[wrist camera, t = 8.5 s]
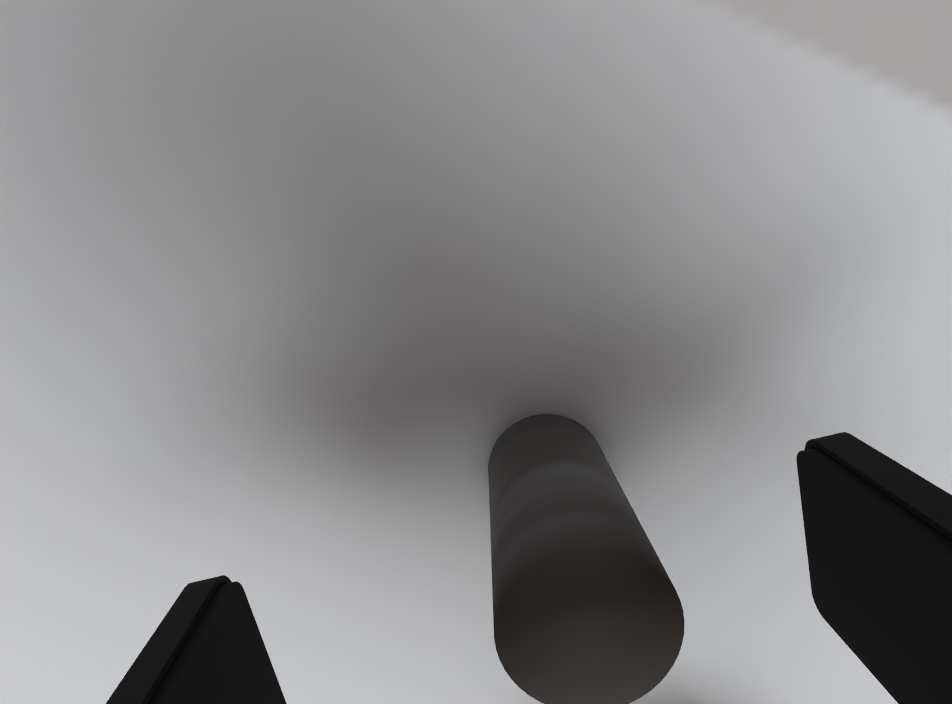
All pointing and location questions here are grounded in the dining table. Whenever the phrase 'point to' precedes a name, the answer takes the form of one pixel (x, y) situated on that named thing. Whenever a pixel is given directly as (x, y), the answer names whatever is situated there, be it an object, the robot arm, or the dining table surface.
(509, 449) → the wooden lever toy
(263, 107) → the dining table surface
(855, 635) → the robot arm
